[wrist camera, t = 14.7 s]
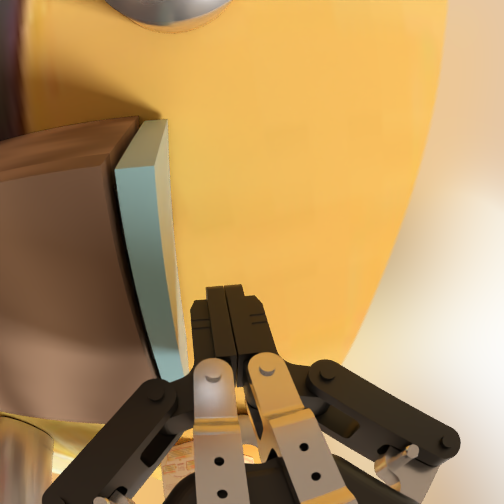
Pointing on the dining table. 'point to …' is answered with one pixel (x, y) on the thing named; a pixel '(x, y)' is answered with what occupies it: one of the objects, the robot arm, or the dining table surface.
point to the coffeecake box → (181, 465)
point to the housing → (67, 277)
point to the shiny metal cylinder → (170, 13)
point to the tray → (153, 244)
